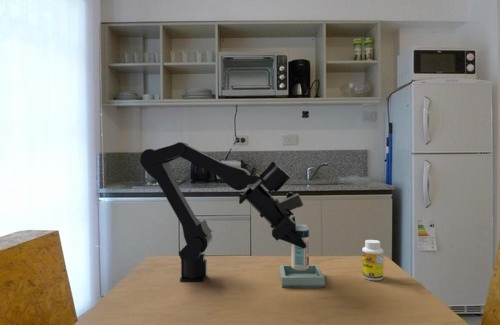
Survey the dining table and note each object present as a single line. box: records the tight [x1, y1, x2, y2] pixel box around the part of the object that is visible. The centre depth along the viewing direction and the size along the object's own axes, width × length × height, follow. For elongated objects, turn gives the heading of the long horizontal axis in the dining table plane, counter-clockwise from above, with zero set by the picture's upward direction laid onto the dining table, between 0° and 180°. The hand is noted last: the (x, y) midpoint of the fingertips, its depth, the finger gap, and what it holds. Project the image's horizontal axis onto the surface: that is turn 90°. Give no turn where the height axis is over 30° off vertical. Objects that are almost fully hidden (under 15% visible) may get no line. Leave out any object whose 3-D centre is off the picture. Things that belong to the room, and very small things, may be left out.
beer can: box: [291, 223, 310, 271], centre depth 100 cm, size 5×5×12 cm
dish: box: [279, 264, 326, 289], centre depth 101 cm, size 11×11×3 cm
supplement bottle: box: [361, 239, 384, 281], centre depth 102 cm, size 6×6×10 cm
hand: (305, 245), depth 100 cm, fingers closed on beer can, 5 cm apart
